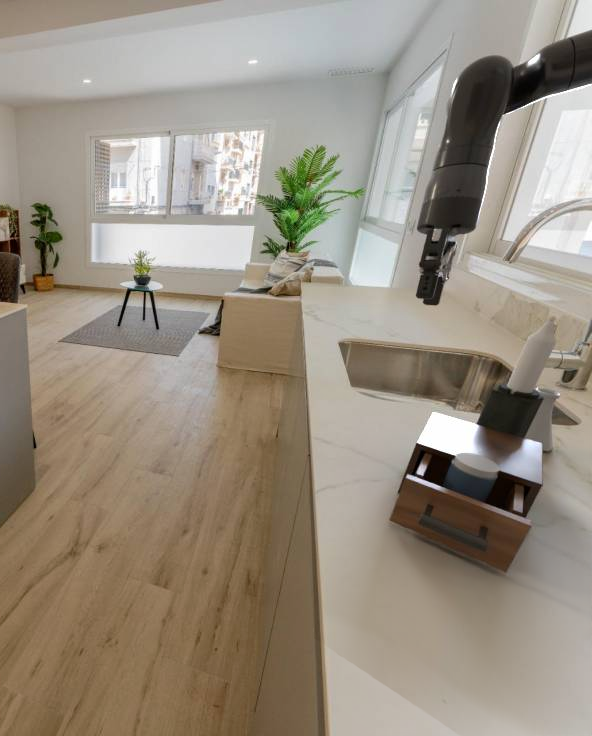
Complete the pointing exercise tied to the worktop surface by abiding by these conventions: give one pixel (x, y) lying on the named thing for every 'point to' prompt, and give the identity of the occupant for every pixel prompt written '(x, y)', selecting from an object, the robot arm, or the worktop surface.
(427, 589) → the worktop surface
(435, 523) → the drawer
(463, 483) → the blue tumbler
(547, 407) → the flask
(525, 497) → the cabinet
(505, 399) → the candle
